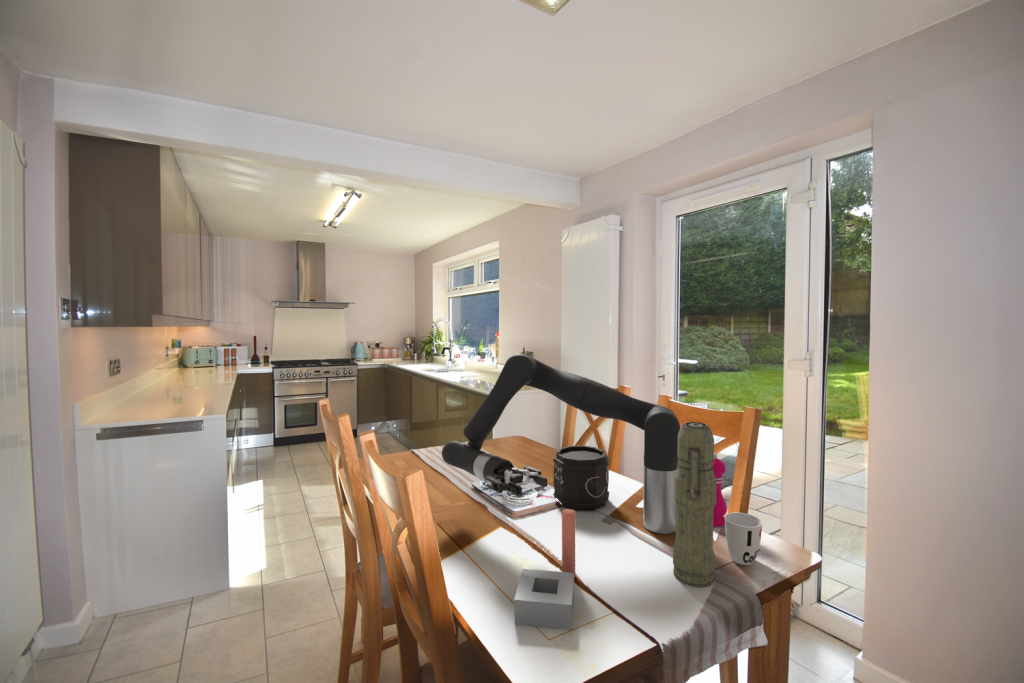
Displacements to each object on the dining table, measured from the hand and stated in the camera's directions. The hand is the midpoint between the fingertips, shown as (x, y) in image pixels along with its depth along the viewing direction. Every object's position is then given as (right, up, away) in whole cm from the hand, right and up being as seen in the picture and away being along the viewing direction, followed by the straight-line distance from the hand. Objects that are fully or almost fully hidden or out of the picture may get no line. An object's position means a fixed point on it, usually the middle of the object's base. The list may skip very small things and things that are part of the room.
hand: (533, 487), depth 116 cm
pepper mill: (+52, -16, +18) cm, 57 cm away
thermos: (+36, -18, -8) cm, 41 cm away
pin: (+8, -18, -7) cm, 21 cm away
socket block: (+1, -19, -19) cm, 27 cm away
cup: (+50, -17, -2) cm, 53 cm away
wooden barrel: (+17, -15, +35) cm, 41 cm away
